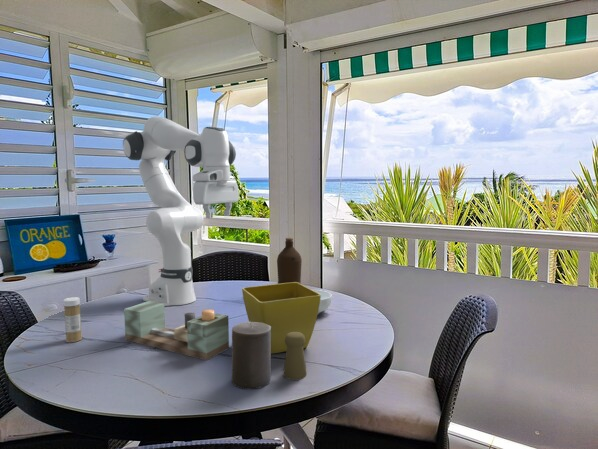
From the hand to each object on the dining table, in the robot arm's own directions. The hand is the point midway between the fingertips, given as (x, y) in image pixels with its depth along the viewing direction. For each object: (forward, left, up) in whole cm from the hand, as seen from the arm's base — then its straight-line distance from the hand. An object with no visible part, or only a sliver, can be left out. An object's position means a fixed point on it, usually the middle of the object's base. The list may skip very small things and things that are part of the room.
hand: (218, 217), depth 148 cm
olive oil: (+1, +46, -38) cm, 60 cm away
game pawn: (+41, -21, -38) cm, 60 cm away
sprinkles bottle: (-32, -33, -38) cm, 60 cm away
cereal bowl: (+20, +28, -38) cm, 51 cm away
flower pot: (+27, -5, -38) cm, 47 cm away
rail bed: (-1, -20, -38) cm, 43 cm away
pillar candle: (+33, -29, -38) cm, 58 cm away
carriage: (+5, -20, -35) cm, 41 cm away
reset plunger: (+12, -20, -30) cm, 38 cm away
